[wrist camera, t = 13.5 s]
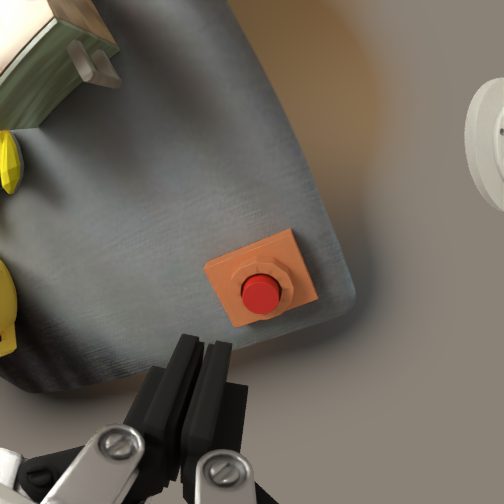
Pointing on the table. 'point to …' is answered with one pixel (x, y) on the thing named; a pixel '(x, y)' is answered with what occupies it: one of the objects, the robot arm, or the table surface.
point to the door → (53, 73)
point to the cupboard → (42, 23)
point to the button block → (262, 263)
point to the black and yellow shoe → (10, 162)
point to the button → (260, 294)
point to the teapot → (7, 311)
